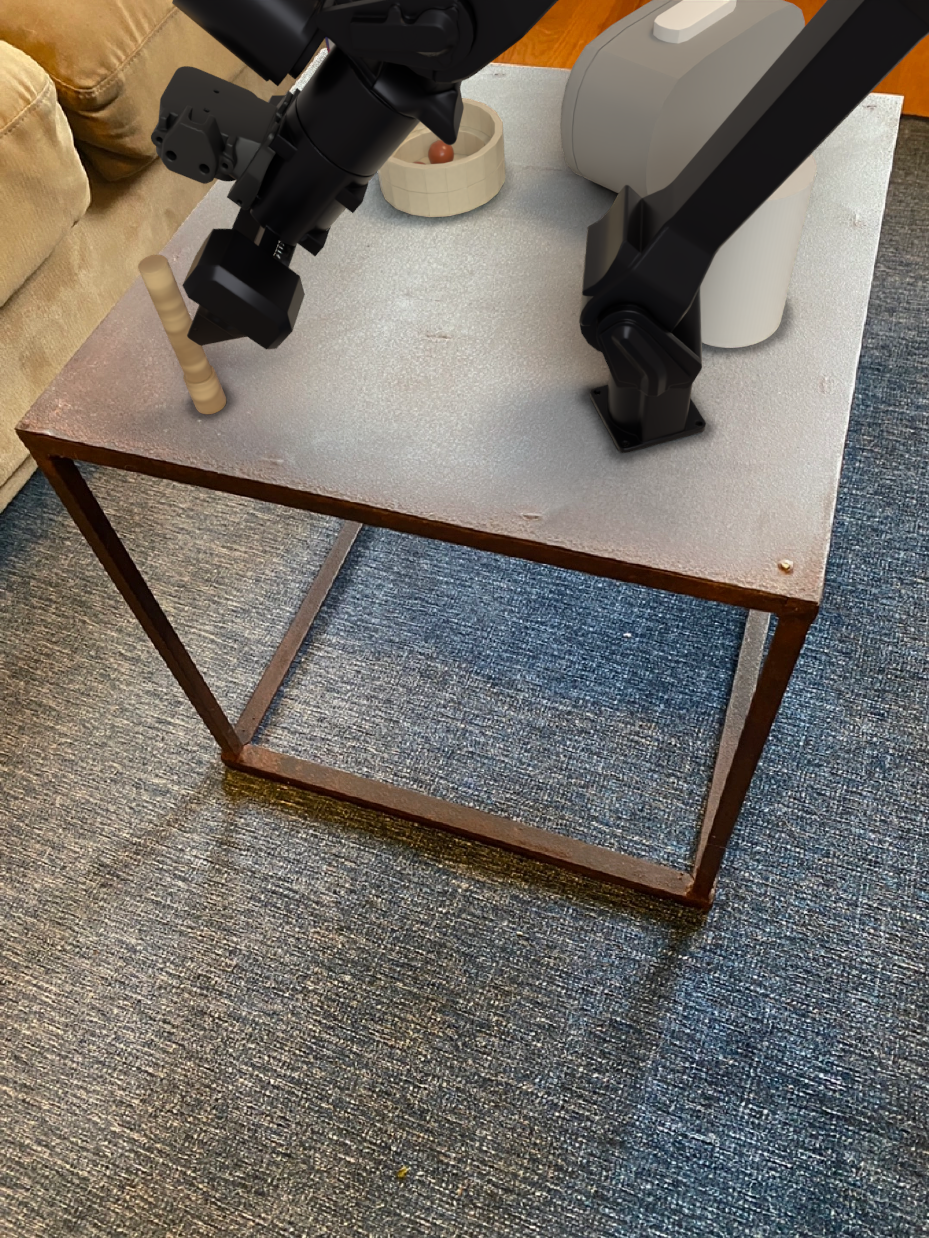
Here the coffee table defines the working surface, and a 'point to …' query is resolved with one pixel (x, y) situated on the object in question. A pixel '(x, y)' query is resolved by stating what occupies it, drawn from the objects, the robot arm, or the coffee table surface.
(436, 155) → the bead
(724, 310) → the cup
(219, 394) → the stirring stick
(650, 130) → the alarm clock
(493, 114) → the bowl
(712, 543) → the coffee table surface
